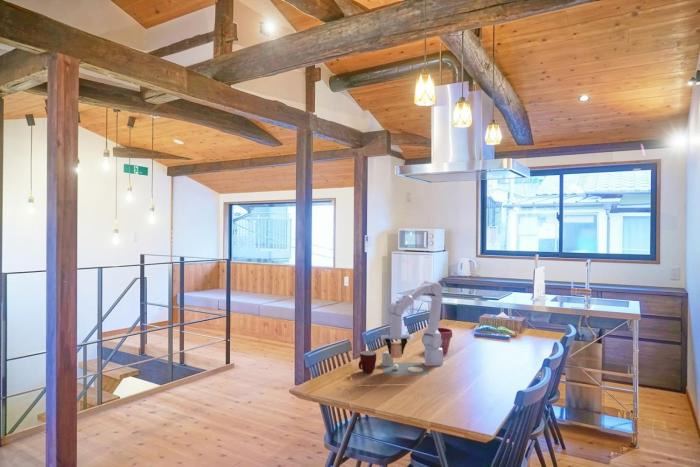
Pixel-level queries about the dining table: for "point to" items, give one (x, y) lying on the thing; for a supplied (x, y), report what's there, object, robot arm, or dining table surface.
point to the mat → (404, 369)
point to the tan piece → (396, 350)
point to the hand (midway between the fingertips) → (395, 353)
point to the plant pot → (445, 338)
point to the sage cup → (386, 359)
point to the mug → (367, 361)
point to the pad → (415, 369)
